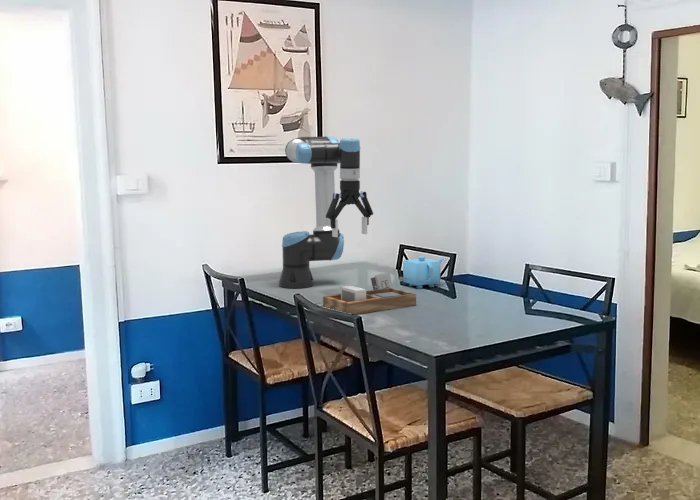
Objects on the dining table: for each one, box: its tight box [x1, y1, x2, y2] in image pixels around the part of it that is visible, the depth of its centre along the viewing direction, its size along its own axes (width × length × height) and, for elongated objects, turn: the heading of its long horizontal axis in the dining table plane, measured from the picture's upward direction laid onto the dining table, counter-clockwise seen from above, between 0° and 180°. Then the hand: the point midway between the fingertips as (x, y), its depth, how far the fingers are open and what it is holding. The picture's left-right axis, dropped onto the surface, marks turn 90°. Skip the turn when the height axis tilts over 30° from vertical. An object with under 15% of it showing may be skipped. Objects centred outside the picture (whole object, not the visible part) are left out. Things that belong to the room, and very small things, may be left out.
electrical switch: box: [370, 271, 394, 290], centre depth 311 cm, size 9×5×9 cm, turn 141°
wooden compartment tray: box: [322, 287, 417, 316], centre depth 289 cm, size 16×32×5 cm, turn 124°
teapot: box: [402, 255, 446, 289], centre depth 331 cm, size 18×16×13 cm
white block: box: [340, 285, 367, 302], centre depth 284 cm, size 10×5×8 cm, turn 35°
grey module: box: [372, 292, 401, 298], centre depth 292 cm, size 9×10×4 cm
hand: (349, 235), depth 291 cm, fingers open, 13 cm apart
